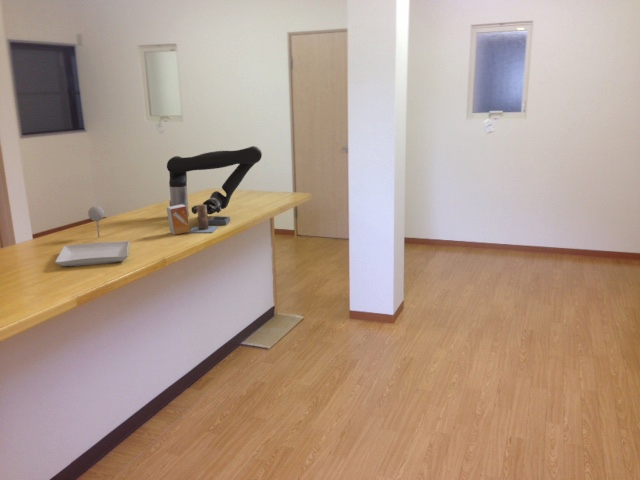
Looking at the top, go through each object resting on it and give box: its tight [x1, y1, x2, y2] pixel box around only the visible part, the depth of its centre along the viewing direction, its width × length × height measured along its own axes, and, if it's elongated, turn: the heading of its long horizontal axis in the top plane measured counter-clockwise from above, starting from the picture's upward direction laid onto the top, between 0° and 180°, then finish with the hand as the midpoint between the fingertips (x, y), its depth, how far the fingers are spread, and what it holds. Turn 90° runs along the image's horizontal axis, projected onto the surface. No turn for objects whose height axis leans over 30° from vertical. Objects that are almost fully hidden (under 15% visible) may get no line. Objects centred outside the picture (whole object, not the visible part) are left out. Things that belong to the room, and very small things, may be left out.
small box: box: [166, 204, 191, 236], centre depth 273 cm, size 8×6×13 cm
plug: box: [196, 203, 209, 230], centre depth 278 cm, size 5×5×12 cm
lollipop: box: [87, 205, 105, 238], centre depth 267 cm, size 7×7×15 cm
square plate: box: [54, 240, 131, 267], centre depth 233 cm, size 27×27×4 cm
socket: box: [208, 216, 231, 226], centre depth 295 cm, size 9×9×2 cm
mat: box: [187, 225, 219, 234], centre depth 280 cm, size 12×12×1 cm
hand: (202, 212), depth 279 cm, fingers open, 8 cm apart
